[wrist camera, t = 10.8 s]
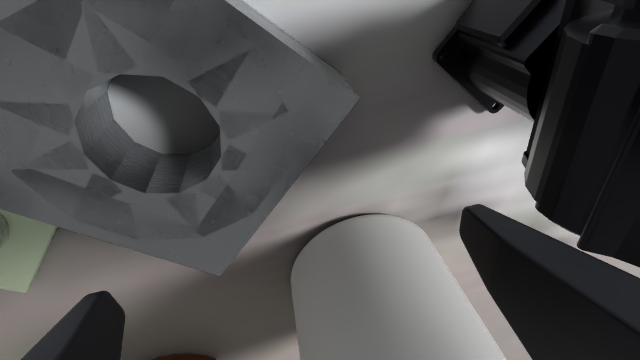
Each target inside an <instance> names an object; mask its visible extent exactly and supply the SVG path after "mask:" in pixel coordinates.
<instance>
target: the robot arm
mask: <svg viewBox="0 0 640 360" xmlns="http://www.w3.org/2000/svg"><path fill="white" fill-rule="evenodd" d="M444 52H445V56H444V58H443V59H440V56H441V54H442V53H444ZM433 60H434V62H435V63H436V64H437V65H438V66H439V67H440V68H441V69H443V70H444V71H445V72H446V73H447V74H448V75H449V76H450V77H451V78H452V79H453V80H454V81H456V82H457V83H458V84H459V85H460V86H461V87H462V88H463V89H464V90H465V91H466V92H467V93H469V94H470V95H471V96H472V97H473V98H474V99H475V100H476V101H477V102H478V103H479V104H480V105H481V106H483V107H484V108H485V109H486V110H487V111H489V112H490V113H496V112H498V111H499V110H501V109H502V108H503V107H504V106H507V107H509V108H510V109H512V110H514V111H515V112H517V113H519V114H521V115H522V116H524V117H526V118H527V119H529V120H531V121H533V122H534V124H533V128H532V132H531V136H530V140H529V143H528V147H527V151H525V152H524V154H523V158H522V163H523V165H524V167H525V169H526V170H525V173H524V174H525V186H526V188H527V189H528V191H529V192H530V194H531V195H532V197H533V198H534V200H535V201H536V205H535V208H536V209H537V210H538V211H539V212H540V213H542V214H543V215H544V216H545V217H547V218H548V219H549V220H551V221H552V222H553V223H555V224H557V225H559V226H561V227H562V228H564V229H566V230H568V231H570V232H572V233H574V234H577V235H579V236H580V238H579V241H578V243H577V247H578V248H579V249H581V250H584V251H588V252H592V253H596V254H601V255H605V256H609V257H613V258H616V259H619V260H621V261H624V262H627V263H630V264H632V265H635V266H638V267H640V0H474V2H473V3H472V4H471V5H470V6H469V8H468V9H467V10H466V11H465V12H464V14H463V15H462V16H461V17H460V18H459V20H458V21H457V23H456V26H455V27H454V29H453V30H452V31H451V32H450V33H449V35H448V36H447V37H446V38H445V39H444V41H443V42H442V43H441V44H440V45H439V47H438V48H437V49H436V50H435V52H434V54H433ZM495 103H496V104H495ZM493 104H495V106H494V107H492V106H493ZM459 231H460V236H461V239H462V241H463V243H464V245H465V247H466V249H467V251H468V253H469V255H470V257H471V259H472V261H473V263H474V265H475V267H476V269H477V271H478V273H479V275H480V277H481V279H482V281H483V282H484V284H485V286H486V288H487V290H488V291H489V293H490V295H491V296H492V298H493V300H494V301H495V303H496V304H497V306H498V307H499V309H500V310H501V312H502V313H503V315H504V316H505V318H506V320H507V321H508V323H509V324H510V326H511V327H512V329H513V330H514V332H515V333H516V335H517V336H518V338H519V340H520V341H521V343H522V344H523V346H524V347H525V349H526V350H527V352H528V353H529V355H530V356H531V358H532V360H640V278H638V277H636V276H634V275H632V274H630V273H627V272H625V271H623V270H621V269H619V268H617V267H615V266H612V265H610V264H608V263H606V262H604V261H602V260H599V259H597V258H595V257H593V256H591V255H589V254H587V253H584V252H582V251H580V250H578V249H576V248H574V247H572V246H569V245H567V244H565V243H563V242H561V241H559V240H557V239H554V238H552V237H550V236H548V235H546V234H544V233H542V232H539V231H537V230H535V229H533V228H531V227H529V226H527V225H524V224H522V223H520V222H518V221H516V220H514V219H511V218H509V217H507V216H505V215H503V214H501V213H499V212H496V211H494V210H492V209H490V208H488V207H486V206H484V205H481V204H476V205H472V206H467V207H465V208H464V209H463V210H462V216H461V222H460V229H459ZM124 324H125V313H124V310H123V309H122V307H121V306H120V305H119V304H118V303H117V301H116V300H115V299H114V298H113V297H112V295H111V294H110V293H109V292H107V291H100V292H95V293H91V294H88V295H86V296H85V297H84V298H82V299H81V300H80V301H79V302H78V303H77V304H76V305H75V306H74V307H73V308H72V309H71V310H70V311H69V312H68V313H67V314H66V315H65V316H64V317H63V318H62V319H61V320H60V321H59V322H58V323H57V324H56V325H55V326H54V327H53V328H52V329H51V330H50V331H49V332H48V333H47V334H46V335H45V336H44V337H43V338H42V339H41V340H40V341H39V342H38V343H37V344H36V345H35V346H34V347H33V348H32V349H31V350H30V351H29V352H28V353H27V354H26V355H25V356H24V357H23V358H22V359H21V360H120V357H121V349H122V341H123V332H124Z"/></svg>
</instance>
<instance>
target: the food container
mask: <svg viewBox="0 0 640 360" xmlns="http://www.w3.org/2000/svg"><path fill="white" fill-rule="evenodd" d="M153 360H216V359H215V358H212V357H209V356H205V355H198V354H173V355H168V356H163V357H158V358H155V359H153Z"/></svg>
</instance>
